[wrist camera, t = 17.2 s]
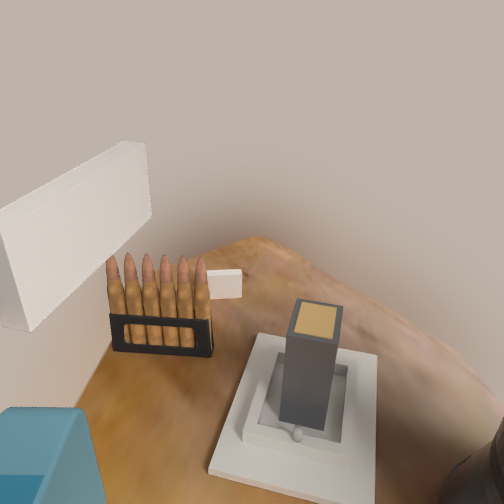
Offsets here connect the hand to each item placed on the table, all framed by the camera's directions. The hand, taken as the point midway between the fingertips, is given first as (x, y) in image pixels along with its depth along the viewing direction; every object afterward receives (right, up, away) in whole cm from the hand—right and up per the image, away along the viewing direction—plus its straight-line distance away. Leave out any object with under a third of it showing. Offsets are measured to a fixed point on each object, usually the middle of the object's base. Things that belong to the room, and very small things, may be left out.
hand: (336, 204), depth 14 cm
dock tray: (+2, -16, +28) cm, 32 cm away
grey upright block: (+2, -16, +27) cm, 31 cm away
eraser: (-6, -7, +43) cm, 44 cm away
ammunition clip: (-12, -12, +34) cm, 38 cm away
